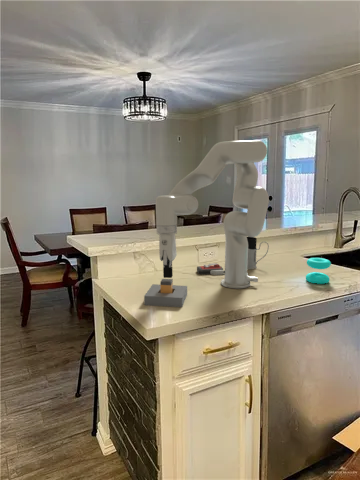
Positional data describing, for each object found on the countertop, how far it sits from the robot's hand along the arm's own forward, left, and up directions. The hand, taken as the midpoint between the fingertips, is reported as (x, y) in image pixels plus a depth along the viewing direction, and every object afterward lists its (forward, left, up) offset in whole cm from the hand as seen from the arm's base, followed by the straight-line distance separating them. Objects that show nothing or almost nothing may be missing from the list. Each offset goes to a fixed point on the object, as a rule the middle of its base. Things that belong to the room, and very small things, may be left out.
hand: (168, 277), depth 139 cm
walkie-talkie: (-16, -40, -9) cm, 45 cm away
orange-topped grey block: (0, 0, -8) cm, 8 cm away
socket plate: (0, 0, -9) cm, 9 cm away
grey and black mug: (-35, -53, -9) cm, 64 cm away
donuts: (-62, -33, -9) cm, 70 cm away
